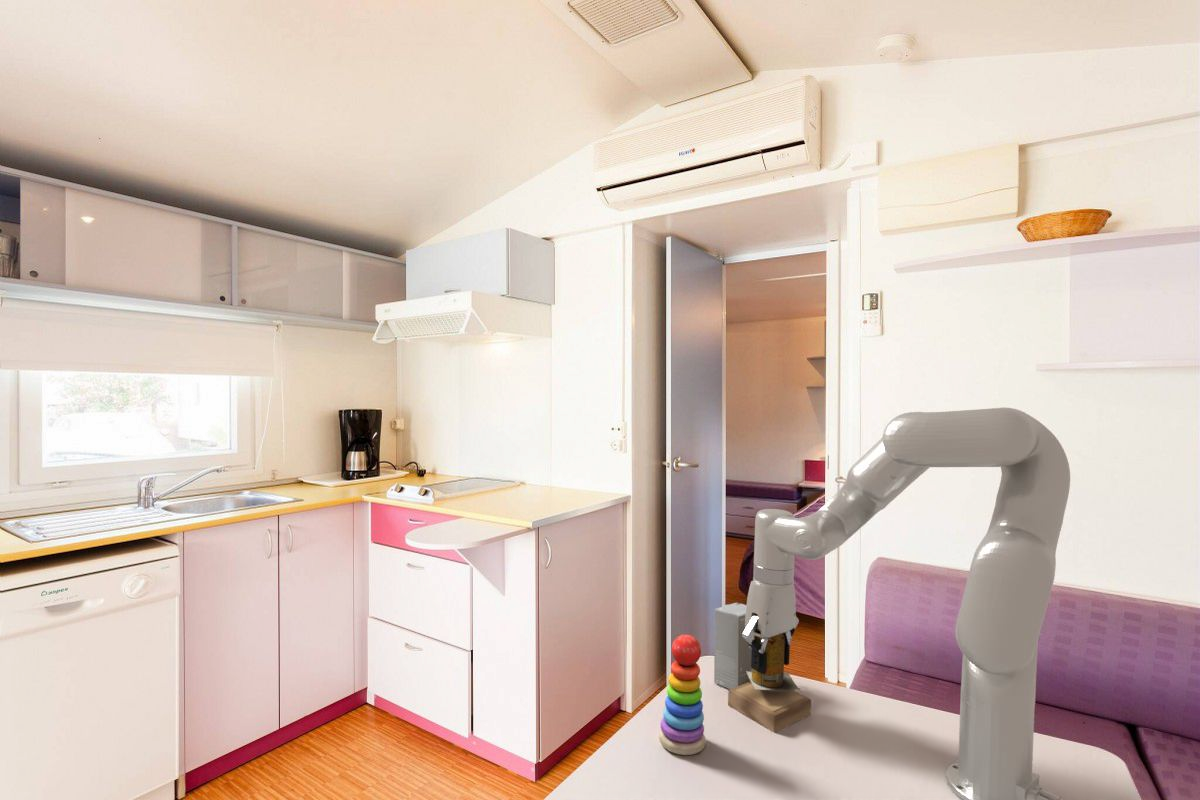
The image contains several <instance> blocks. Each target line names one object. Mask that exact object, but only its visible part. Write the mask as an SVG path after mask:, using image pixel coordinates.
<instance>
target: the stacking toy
mask: <svg viewBox="0 0 1200 800" xmlns="http://www.w3.org/2000/svg"><path fill="white" fill-rule="evenodd" d="M700 644H701V643H700V642H699V641H698V639H697V638H696V637H694V636H692V635H690V634H681V635H679V636H677V637H676V638H675V639H674V640H673V642H672V645H671V654H672V657H673V659H674V662H672V664H671V666H670V671H671V673H670V674H669V676H668V683H669V685H668V686H667V687H666V688H667V689H666V693H667V696H666V697H665V699H664V700H665V701H664V704H665V705H664V706H665V707H664V709H663V717H662V718H661V720H660V731H659V734H658V739H659V743H660V744H661V745H662V746H663V747H664V748H665V749H666V750H667V751H669V752H671V753H672V754H676V755H680V756H690V755H691V756H692V755H695V754H698V753H700V752H701V751H702V750H703V749H704V747H705V745H706V736H705V734H704V732H705V725H704V724H703V723H704V720H705V716H704V715H705V714H704V712H703V709H704V704H703V701H702V695H703V693H702V691H703V690H702V689H701V687H700V686H701V679H700V677H699V676H700V674H701V668H700V666H699V664H698V663H697V662H699V659H700V658H701V654H702V647H701V645H700Z"/></svg>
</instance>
